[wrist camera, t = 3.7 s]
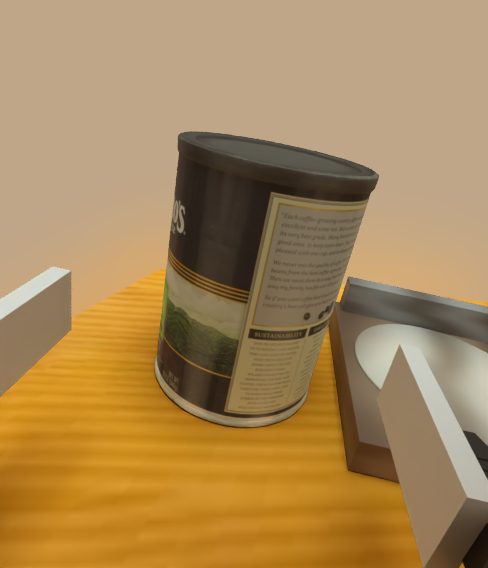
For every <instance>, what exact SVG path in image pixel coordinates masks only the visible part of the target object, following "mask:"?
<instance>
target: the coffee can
mask: <svg viewBox="0 0 488 568" xmlns="http://www.w3.org/2000/svg"><path fill="white" fill-rule="evenodd" d="M178 151H179V160H178V167H177V177H176V187H175V197H174V205H173V213H172V222H171V232H170V241H169V251H168V261H167V269H166V278H165V287H164V297H163V306H162V315H161V324H160V333H159V341H158V351H157V355H156V358H155V373H156V377H157V380H158V382H159V384H160V386H161V388H162V389H163V391H164V392H165V394H166V395H167V396H168V397H169V398H170V399H171V400H172V401H174V402H175V403H176V404H177V405H179V406H180V407H181V408H183V409H184V410H186V411H187V412H189V413H191V414H193V415H195V416H197V417H199V418H202V419H204V420H207V421H210V422H213V423H217V424H221V425H226V426H231V427H259V426H265V425H270V424H273V423H277V422H280V421H282V420H284V419H287V418H289V417H290V416H292V415H293V414H294V413H295V412H296V411H297V410H299V409H300V407H301V406H302V405H303V403H304V402H305V400H306V397H307V394H308V389H309V384H310V380H311V377H312V374H313V371H314V368H315V365H316V362H317V358H318V355H319V352H320V349H321V346H322V343H323V339H324V336H325V333H326V330H327V327H328V324H329V321H330V318H331V315H332V312H333V308H334V305H335V302H336V299H337V296H338V293H339V290H340V286H341V283H342V280H343V277H344V274H345V271H346V268H347V264H348V262H349V258H350V255H351V252H352V250H353V246H354V243H355V240H356V237H357V233H358V231H359V227H360V224H361V221H362V218H363V215H364V212H365V209H366V206H367V203H368V200H369V196H370V193H371V192H372V191H373V190H374V189H375V186H376V184H377V181H378V178H379V175H378V174H377V173H376V172H374V171H373V170H372V169H369V168H367V167H365V166H363V165H360V164H357V163H354V162H351V161H348V160H345V159H342V158H338V157H334V156H330V155H327V154H324V153H320V152H316V151H311V150H307V149H303V148H299V147H294V146H289V145H284V144H280V143H275V142H270V141H265V140H259V139H253V138H247V137H241V136H233V135H228V134H220V133H210V132H184V133H181V134H179V136H178Z"/></svg>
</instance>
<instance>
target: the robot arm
mask: <svg viewBox="0 0 488 568" xmlns="http://www.w3.org/2000/svg"><path fill="white" fill-rule="evenodd" d="M70 330H71V271H70V270H66V269H61V268H57V267H51V268H50V269H48V270H47V271H45V272H43V273H42V274H40V275H38V276H37V277H35V278H34V279H32V280H30V281H29V282H27V283H26V284H24V285H23V286H21V287H19V288H18V289H16V290H14V291H13V292H11V293H10V294H8V295H6V296H5V297H3V298H2V299H0V397H1V396H2V395H3V394H4V393H5V392H6V391H7V390H8V389H9V388H10V387H11V386H12V385H14V384H15V383H16V382H17V381H18V380H19V379H20V378H21V377H22V376H23V375H24V374H25V373H26V372H27V371H28V370H29V369H30V368H31V367H32V366H34V365H35V364H36V363H37V362H38V361H39V360H40V359H41V358H42V357H43V356H44V355H45V354H46V353H47V352H48V351H49V350H50V349H51V348H52V347H53V346H55V345H56V344H57V343H58V342H59V341H60V340H61V339H62V338H63V337H64V336H65V335H66V334H67V333H68V332H69V331H70ZM377 402H378V405H379V409H380V413H381V416H382V420H383V424H384V427H385V431H386V435H387V438H388V442H389V446H390V449H391V453H392V456H393V460H394V464H395V467H396V471H397V475H398V478H399V482H400V486H401V489H402V493H403V497H404V500H405V504H406V508H407V511H408V515H409V518H410V522H411V526H412V529H413V533H414V537H415V540H416V544H417V548H418V551H419V555H420V559H421V562H422V566H423V568H459V567H460V565H461V564H462V562H463V564H464V566H465V568H488V446H487V445H486V444H485V443H484V442H483V441H482V440H481V439H480V438H479V437H478V436H477V435H476V434H475V433H473V432H469V431H464V430H462V429H461V427H460V425H459V423H458V421H457V420H456V418H455V416H454V414H453V412H452V410H451V408H450V406H449V404H448V402H447V400H446V398H445V396H444V394H443V392H442V391H441V389H440V387H439V385H438V383H437V381H436V379H435V377H434V375H433V373H432V371H431V369H430V367H429V365H428V363H427V361H426V360H425V358H424V356H423V354H422V352H421V350H420V348H417V347H413V346H408V345H404V344H399V346H398V349H397V351H396V354H395V356H394V359H393V361H392V364H391V366H390V368H389V371H388V373H387V376H386V378H385V381H384V383H383V386H382V388H381V390H380V393H379V395H378V398H377Z"/></svg>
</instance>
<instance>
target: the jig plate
mask: <svg viewBox="0 0 488 568" xmlns="http://www.w3.org/2000/svg"><path fill="white" fill-rule="evenodd" d="M329 332H330V339H331V347H332V354H333V362H334V369H335V377H336V384H337V392H338V399H339V406H340V414H341V421H342V429H343V436H344V444H345V451H346V459H347V466H348V470H350V471H355V472H359V473H363V474H367V475H371V476H375V477H380V478H384V479H388V480H392V481H396V482H399V478H398V475H397V471H396V467H395V464H394V460H393V456H392V453H391V449H390V446H389V442H388V438H387V435H386V431H385V427H384V424H383V420H382V416H381V413H380V409H379V405H378V402H377V398H378V395H379V393H380V390H381V388H382V386H383V383H384V381H385V378H386V376H387V373H388V371H389V368H390V366H391V364H392V361H393V359H394V356H395V354H396V351H397V349H398V346H399V344H404V345H408V346H413V347H417V348H420V350H421V352H422V354H423V356H424V358H425V360H426V361H427V363H428V365H429V367H430V369H431V371H432V373H433V375H434V377H435V379H436V381H437V383H438V385H439V387H440V389H441V391H442V392H443V394H444V396H445V398H446V400H447V402H448V404H449V406H450V408H451V410H452V412H453V414H454V416H455V418H456V420H457V421H458V423H459V425H460V427H461V429H462V430H464V431H469V432H473V433H475V434H476V435H477V436H478V437H479V438H480V439H481V440H482V441H483V442H484V443H485V444H486V445H487V446H488V307H486V306H481V305H477V304H472V303H467V302H463V301H458V300H454V299H449V298H445V297H440V296H435V295H431V294H426V293H422V292H417V291H412V290H408V289H403V288H399V287H394V286H389V285H384V284H380V283H376V282H371V281H366V280H362V279H357V278H353V277H348V279H347V282H346V285H345V288H344V292H343V295H342V298H341V301H340V303H339V302H335V305H334V308H333V312H332V315H331V318H330V321H329Z"/></svg>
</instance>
